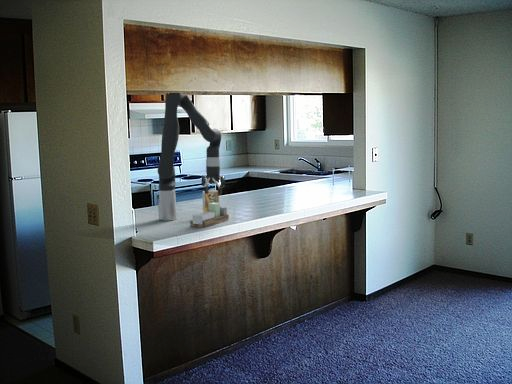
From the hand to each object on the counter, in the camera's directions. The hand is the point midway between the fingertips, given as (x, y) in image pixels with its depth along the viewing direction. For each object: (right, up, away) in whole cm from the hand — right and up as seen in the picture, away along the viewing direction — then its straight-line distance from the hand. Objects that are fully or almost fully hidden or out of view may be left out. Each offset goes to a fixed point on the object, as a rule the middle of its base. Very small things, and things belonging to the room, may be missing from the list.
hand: (213, 194), depth 338 cm
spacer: (+1, -14, +2) cm, 14 cm away
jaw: (-5, -15, -7) cm, 18 cm away
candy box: (-2, -14, +17) cm, 22 cm away
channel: (-2, -16, -2) cm, 16 cm away
